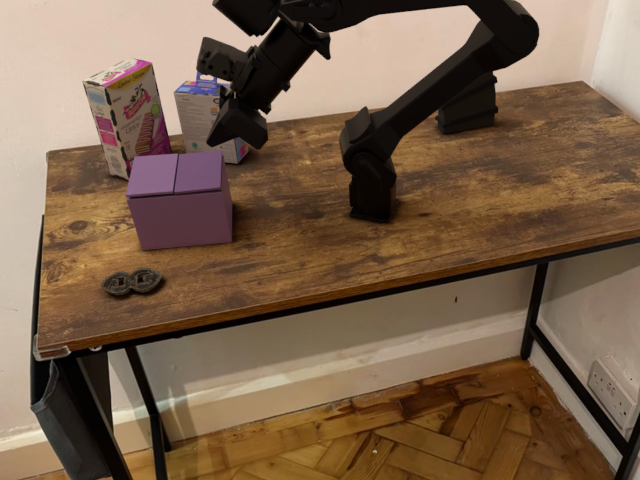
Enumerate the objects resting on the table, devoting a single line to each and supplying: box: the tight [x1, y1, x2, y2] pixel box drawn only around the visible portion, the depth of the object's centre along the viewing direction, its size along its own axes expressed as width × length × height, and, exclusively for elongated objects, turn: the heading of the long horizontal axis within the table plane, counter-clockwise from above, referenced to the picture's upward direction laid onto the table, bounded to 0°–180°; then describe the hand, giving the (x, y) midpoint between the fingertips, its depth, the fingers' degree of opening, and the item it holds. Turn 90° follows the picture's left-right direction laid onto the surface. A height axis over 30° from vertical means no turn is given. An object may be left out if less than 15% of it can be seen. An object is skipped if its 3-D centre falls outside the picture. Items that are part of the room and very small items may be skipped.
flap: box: [174, 150, 222, 194], centre depth 96 cm, size 6×11×1 cm, turn 9°
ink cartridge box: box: [173, 70, 250, 165], centre depth 113 cm, size 10×6×14 cm, turn 78°
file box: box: [125, 153, 233, 251], centre depth 99 cm, size 13×11×9 cm
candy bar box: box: [81, 57, 173, 182], centre depth 110 cm, size 11×5×16 cm, turn 155°
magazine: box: [434, 71, 499, 134], centre depth 122 cm, size 4×13×15 cm, turn 111°
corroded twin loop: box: [100, 267, 163, 296], centre depth 91 cm, size 5×8×1 cm, turn 105°
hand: (208, 144), depth 94 cm, fingers closed
